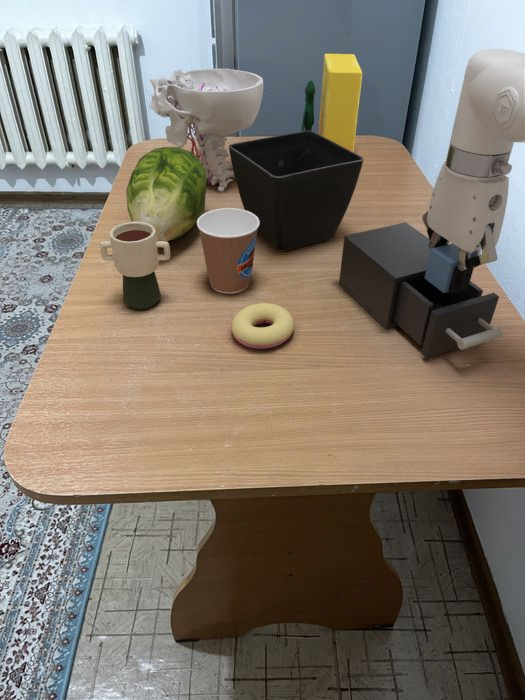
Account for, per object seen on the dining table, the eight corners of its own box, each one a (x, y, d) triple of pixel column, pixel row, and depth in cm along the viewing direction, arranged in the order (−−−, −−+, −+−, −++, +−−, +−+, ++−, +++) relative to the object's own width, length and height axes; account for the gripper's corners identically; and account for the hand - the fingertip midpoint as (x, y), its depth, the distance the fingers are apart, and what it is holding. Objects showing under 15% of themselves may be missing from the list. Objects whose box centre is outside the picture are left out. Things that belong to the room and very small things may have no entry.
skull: (260, 167, 142) (261, 68, 128) (263, 199, 128) (265, 91, 113) (161, 167, 141) (150, 67, 127) (152, 199, 127) (139, 91, 112)
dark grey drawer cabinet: (448, 311, 95) (461, 260, 89) (385, 329, 90) (395, 278, 84) (396, 269, 105) (405, 222, 99) (338, 284, 101) (344, 235, 94)
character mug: (176, 289, 99) (170, 221, 90) (173, 313, 93) (165, 242, 85) (114, 289, 98) (101, 221, 90) (106, 313, 93) (92, 242, 84)
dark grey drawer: (505, 354, 84) (521, 312, 80) (444, 375, 81) (457, 332, 76) (430, 294, 97) (440, 254, 92) (374, 309, 93) (381, 269, 88)
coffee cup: (248, 304, 95) (248, 240, 88) (191, 293, 98) (186, 230, 90) (265, 273, 103) (267, 212, 95) (213, 264, 105) (210, 204, 98)
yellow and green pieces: (297, 152, 151) (303, 53, 136) (344, 153, 151) (354, 54, 135) (299, 178, 137) (305, 71, 122) (350, 179, 137) (362, 72, 122)
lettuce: (116, 265, 104) (102, 185, 95) (147, 203, 125) (138, 132, 115) (196, 269, 104) (190, 189, 94) (214, 206, 124) (211, 135, 115)
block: (467, 286, 83) (476, 256, 80) (443, 293, 81) (451, 263, 78) (447, 271, 86) (455, 242, 83) (424, 278, 85) (430, 248, 81)
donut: (301, 345, 90) (264, 312, 95) (309, 323, 87) (271, 289, 92) (253, 363, 84) (217, 327, 89) (260, 340, 81) (222, 303, 86)
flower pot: (228, 223, 118) (226, 142, 108) (305, 205, 125) (310, 128, 115) (272, 264, 105) (275, 177, 95) (355, 242, 113) (366, 159, 102)
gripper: (550, 178, 68) (506, 304, 79) (456, 135, 79) (430, 250, 91) (502, 188, 65) (464, 317, 76) (412, 142, 77) (391, 260, 88)
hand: (446, 280), depth 84 cm, fingers closed on block, 4 cm apart
